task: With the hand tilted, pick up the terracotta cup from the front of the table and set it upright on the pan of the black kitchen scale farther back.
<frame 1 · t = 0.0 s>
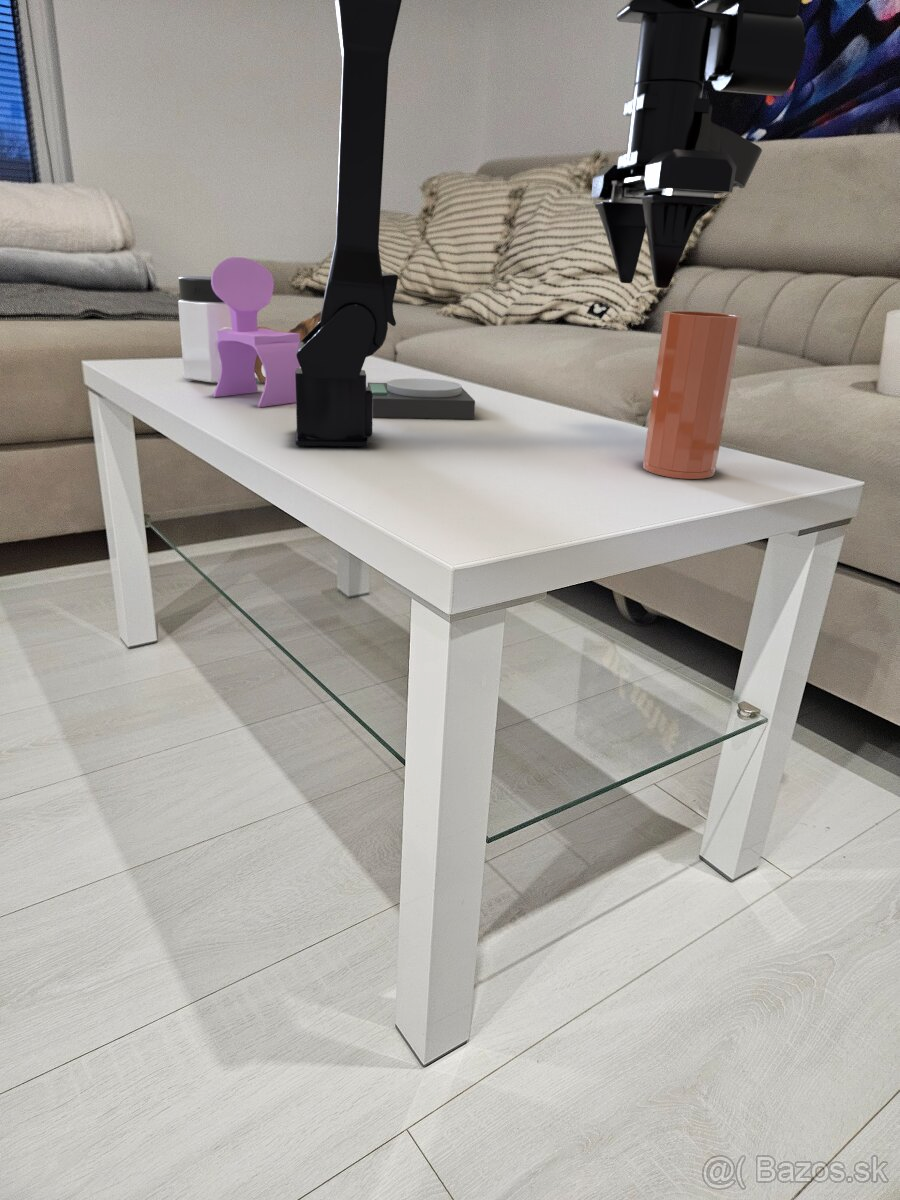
hand: (642, 285, 75), 15 cm above the table, tool pointing down, fingers open, 9 cm apart
cup: (678, 470, 72), on the table
scale: (418, 409, 94), on the table
toy chair: (259, 401, 95), on the table
lion figurine: (289, 382, 108), on the table, touching jar
jar: (219, 379, 107), on the table, touching lion figurine
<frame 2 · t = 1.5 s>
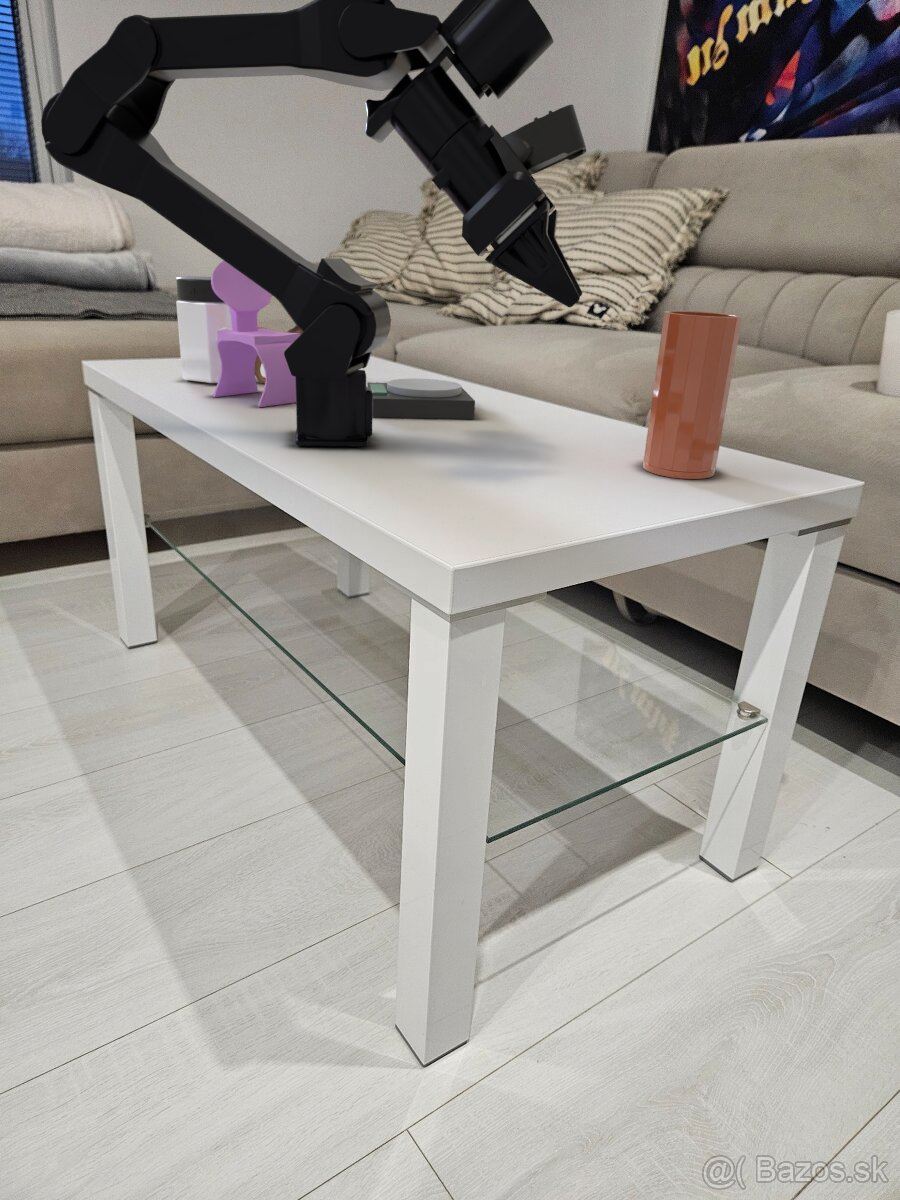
hand: (577, 300, 69), 13 cm above the table, tool tilted 45°, fingers open, 9 cm apart
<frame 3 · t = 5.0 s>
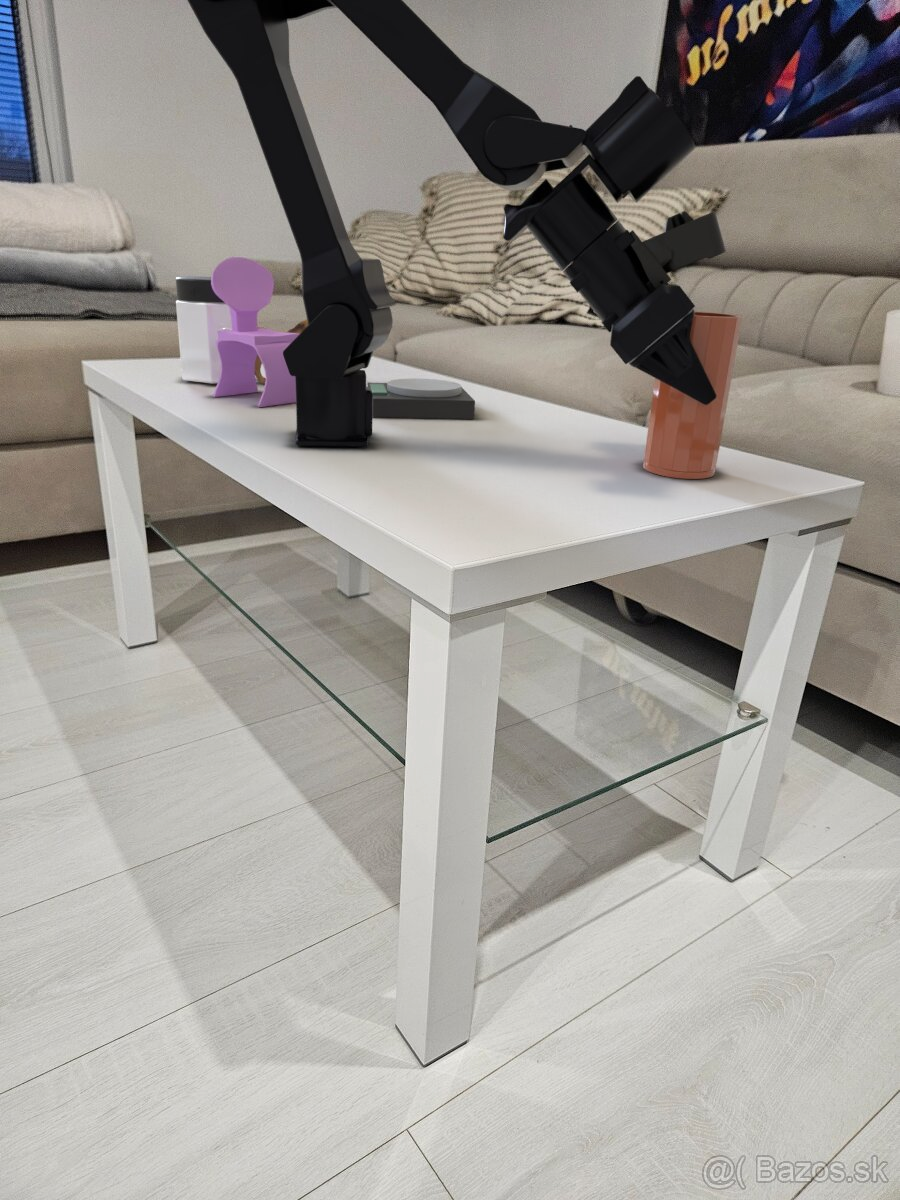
hand: (707, 395, 69), 7 cm above the table, tool tilted 45°, fingers closed on cup, 6 cm apart
cup: (678, 470, 72), on the table, touching gripper
when the fingers open (9 cm above the table, at t = 14.7 s): cup stays where it is, resting on scale.
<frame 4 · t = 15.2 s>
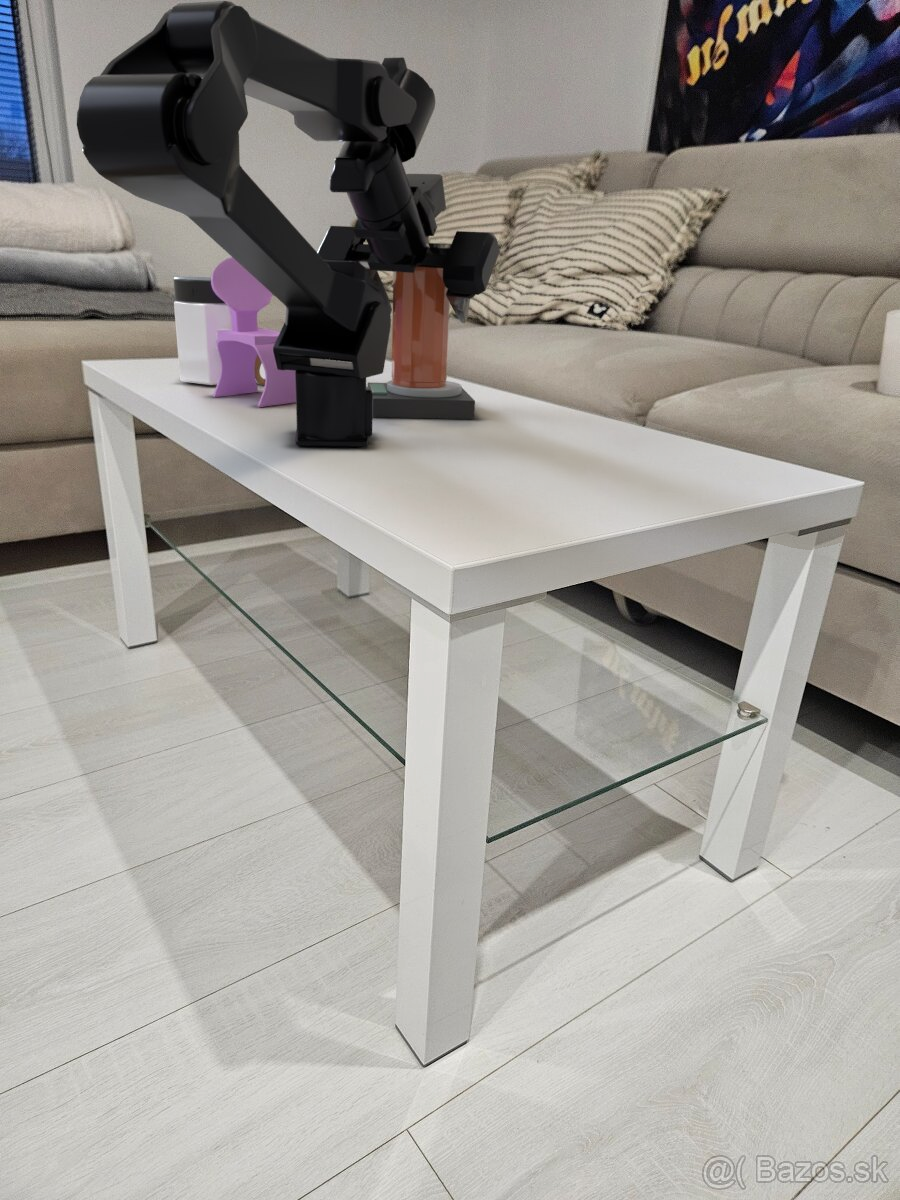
hand: (426, 316, 91), 10 cm above the table, tool tilted 45°, fingers open, 9 cm apart
cup: (419, 383, 93), point 3 cm above the table, touching scale
jar: (215, 381, 105), on the table, touching lion figurine
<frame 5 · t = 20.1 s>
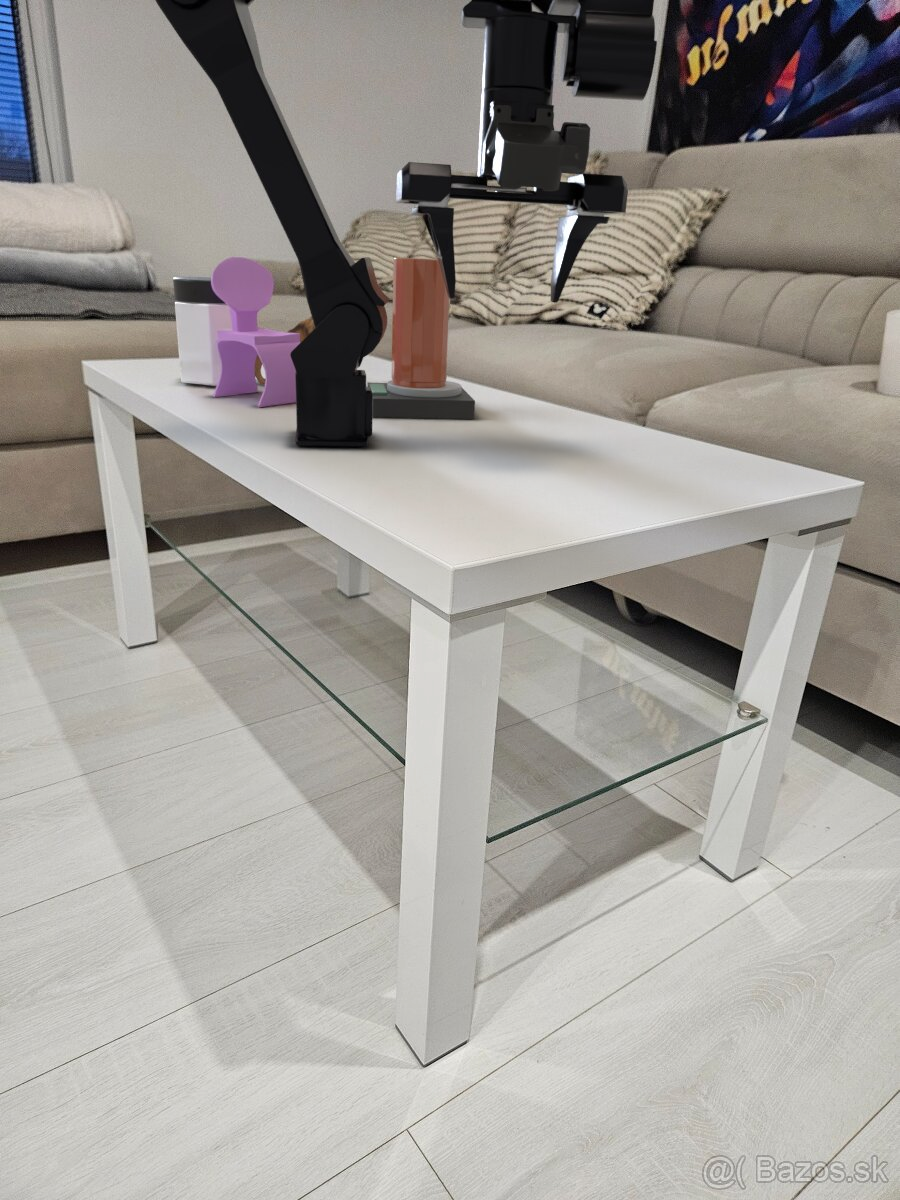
hand: (503, 300, 72), 13 cm above the table, tool pointing down, fingers open, 9 cm apart
at the end: cup inside the target area on the scale (0.5 cm from its centre), point 2.8 cm above the scale's base; cup tilted 0°; the gripper is holding nothing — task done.
